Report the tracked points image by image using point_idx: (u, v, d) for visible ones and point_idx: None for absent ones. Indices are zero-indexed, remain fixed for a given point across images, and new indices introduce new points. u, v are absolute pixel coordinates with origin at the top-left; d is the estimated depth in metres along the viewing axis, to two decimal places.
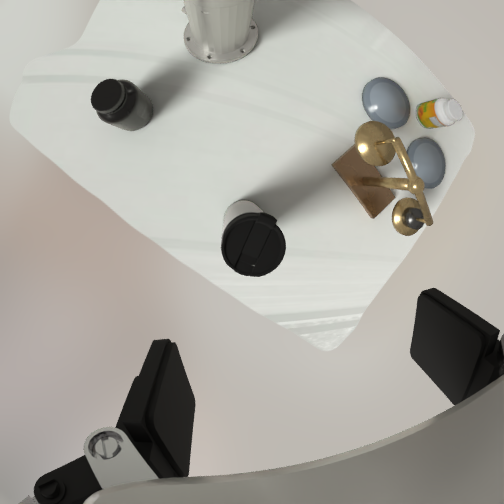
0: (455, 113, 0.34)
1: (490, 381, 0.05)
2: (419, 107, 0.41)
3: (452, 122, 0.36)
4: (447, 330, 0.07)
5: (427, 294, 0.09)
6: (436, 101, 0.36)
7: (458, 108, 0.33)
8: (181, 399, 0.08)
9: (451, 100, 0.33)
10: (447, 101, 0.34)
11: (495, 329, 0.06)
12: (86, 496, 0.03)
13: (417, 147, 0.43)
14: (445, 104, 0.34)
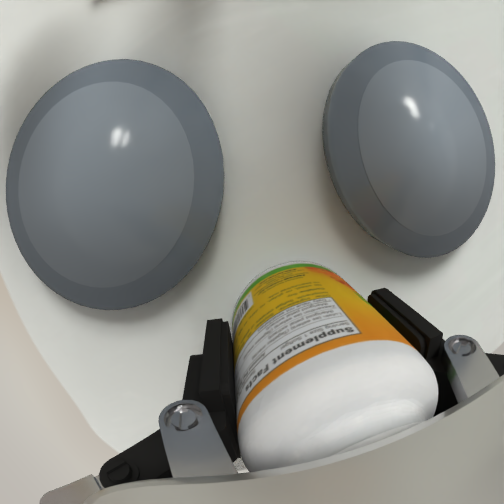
0: None
1: None
2: None
3: (262, 461, 0.05)
4: None
5: (376, 294, 0.10)
6: None
7: None
8: None
9: None
10: None
11: (438, 331, 0.06)
12: None
13: (188, 144, 0.09)
14: None
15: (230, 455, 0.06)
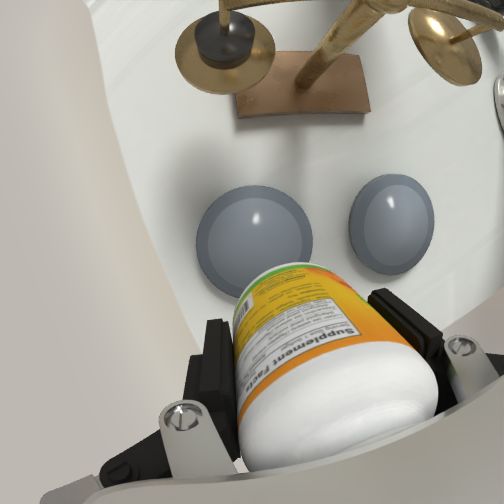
0: None
1: None
2: None
3: (262, 462, 0.05)
4: None
5: (376, 294, 0.10)
6: None
7: None
8: None
9: None
10: None
11: (438, 331, 0.06)
12: None
13: (300, 232, 0.24)
14: None
15: (230, 455, 0.06)
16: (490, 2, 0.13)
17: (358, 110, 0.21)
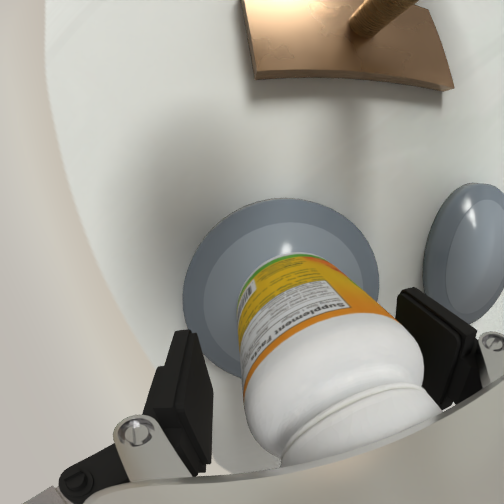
0: None
1: (467, 381, 0.06)
2: None
3: (266, 422, 0.06)
4: (425, 329, 0.08)
5: (406, 293, 0.09)
6: None
7: None
8: (203, 388, 0.08)
9: None
10: None
11: (472, 329, 0.06)
12: None
13: (361, 280, 0.13)
14: (437, 405, 0.04)
15: (189, 471, 0.05)
16: None
17: (440, 83, 0.11)
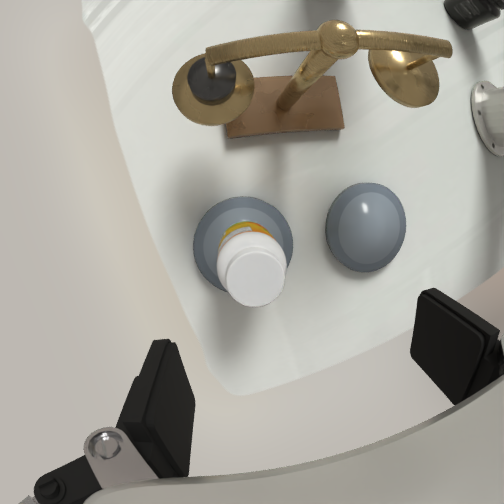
0: (247, 271, 0.18)
1: (490, 381, 0.05)
2: None
3: (222, 266, 0.21)
4: (447, 330, 0.07)
5: (427, 294, 0.09)
6: (283, 253, 0.22)
7: (254, 293, 0.19)
8: (181, 399, 0.08)
9: (282, 279, 0.19)
10: None
11: (495, 329, 0.06)
12: (86, 496, 0.03)
13: (281, 236, 0.28)
14: (276, 257, 0.19)
15: None
16: (470, 11, 0.18)
17: (333, 127, 0.26)
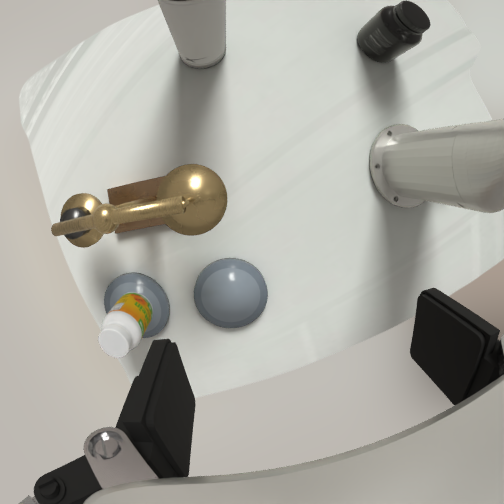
0: (107, 338, 0.28)
1: (490, 381, 0.05)
2: (146, 303, 0.36)
3: None
4: (447, 330, 0.07)
5: (427, 294, 0.09)
6: (137, 324, 0.31)
7: (114, 350, 0.28)
8: (181, 399, 0.08)
9: (126, 345, 0.28)
10: (128, 338, 0.28)
11: (495, 329, 0.06)
12: (86, 496, 0.03)
13: (158, 302, 0.37)
14: (124, 331, 0.28)
15: None
16: (380, 43, 0.27)
17: None
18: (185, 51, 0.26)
